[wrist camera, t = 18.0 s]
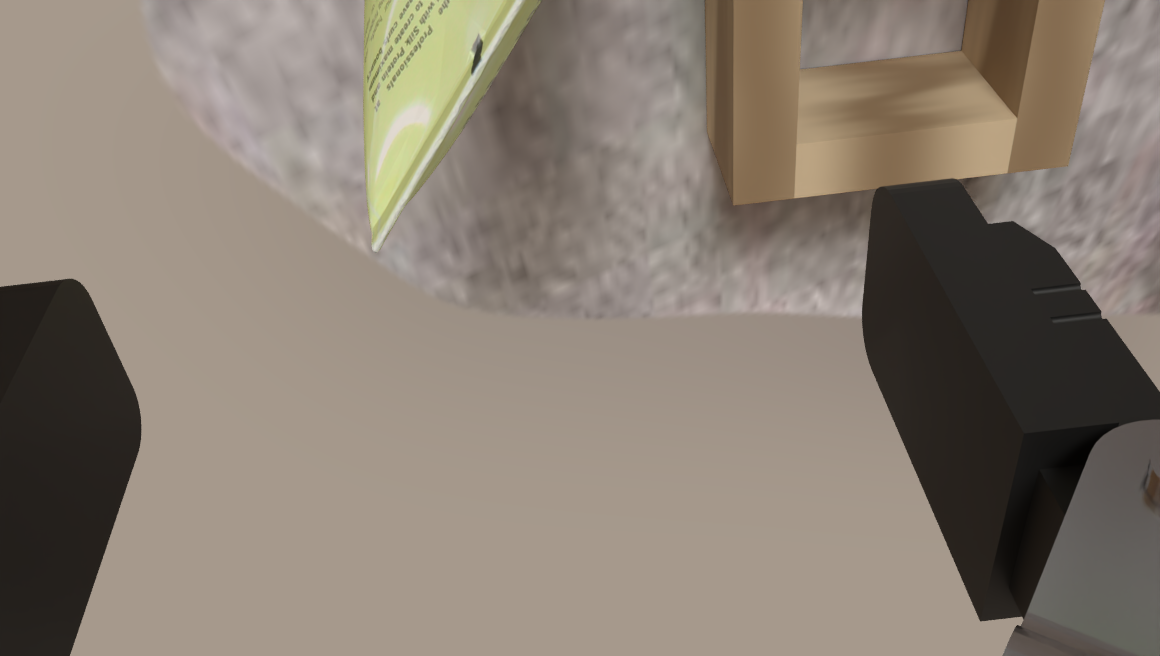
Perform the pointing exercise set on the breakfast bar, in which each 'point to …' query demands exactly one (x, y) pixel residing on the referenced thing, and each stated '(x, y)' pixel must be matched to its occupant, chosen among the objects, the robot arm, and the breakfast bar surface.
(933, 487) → the robot arm
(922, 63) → the socket block
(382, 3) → the tube
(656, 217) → the breakfast bar surface
